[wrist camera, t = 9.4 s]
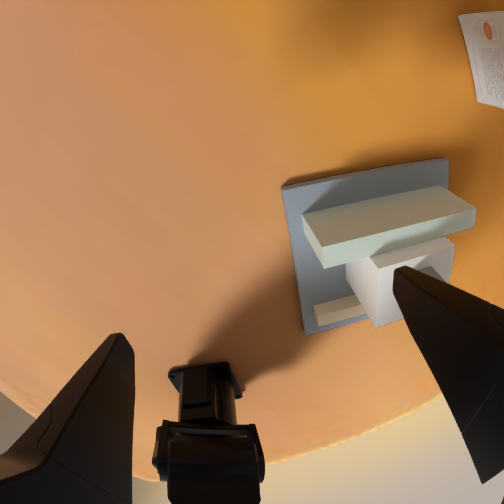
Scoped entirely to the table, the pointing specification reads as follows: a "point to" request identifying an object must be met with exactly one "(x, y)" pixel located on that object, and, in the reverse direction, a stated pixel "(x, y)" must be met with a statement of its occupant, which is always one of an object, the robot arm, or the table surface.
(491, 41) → the small box
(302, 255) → the cleat board
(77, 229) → the table surface
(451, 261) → the block with grey handle
